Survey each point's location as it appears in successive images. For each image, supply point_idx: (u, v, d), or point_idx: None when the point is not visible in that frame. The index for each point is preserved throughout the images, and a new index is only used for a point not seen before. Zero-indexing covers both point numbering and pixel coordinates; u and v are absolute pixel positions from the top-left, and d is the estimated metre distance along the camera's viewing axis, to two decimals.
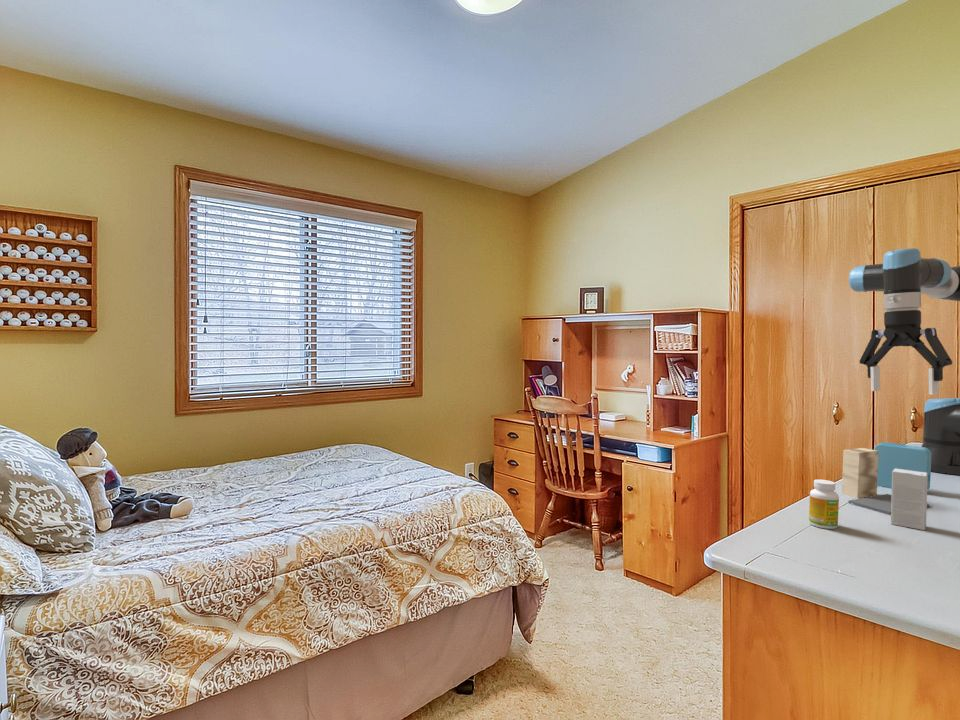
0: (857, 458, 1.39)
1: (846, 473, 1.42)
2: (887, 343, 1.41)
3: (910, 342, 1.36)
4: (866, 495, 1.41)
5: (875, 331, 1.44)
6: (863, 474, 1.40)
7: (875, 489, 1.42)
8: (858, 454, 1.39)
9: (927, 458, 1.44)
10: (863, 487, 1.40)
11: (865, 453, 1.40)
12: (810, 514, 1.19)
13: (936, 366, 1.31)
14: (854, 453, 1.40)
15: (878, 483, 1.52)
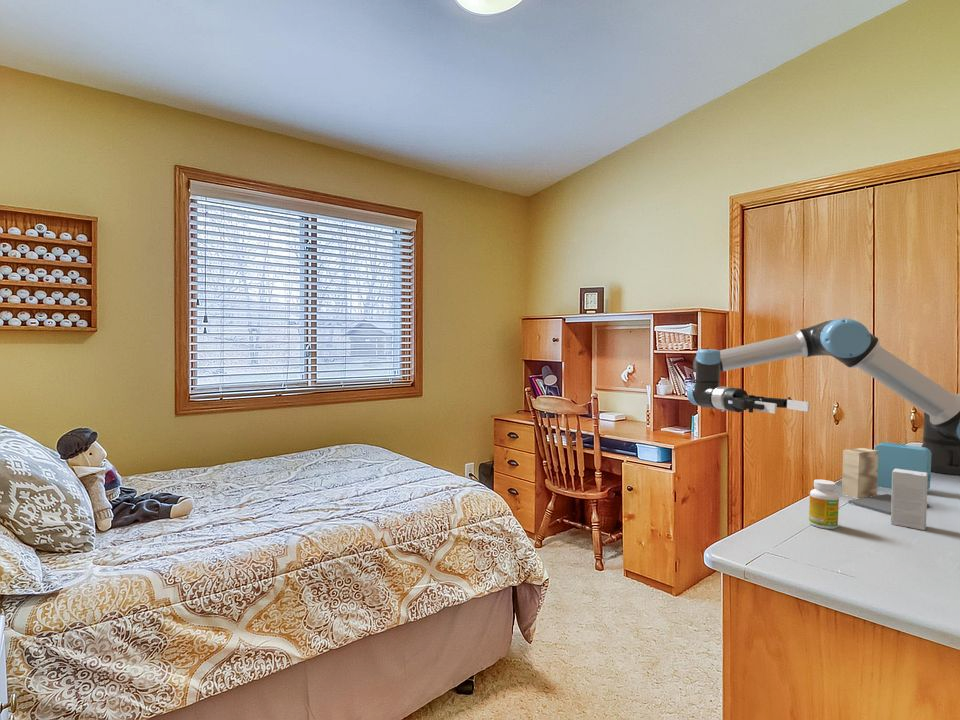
0: (857, 458, 1.39)
1: (846, 473, 1.42)
2: None
3: None
4: (866, 495, 1.41)
5: None
6: (863, 474, 1.40)
7: (875, 489, 1.42)
8: (858, 454, 1.39)
9: (927, 458, 1.44)
10: (863, 487, 1.40)
11: (865, 453, 1.40)
12: (810, 514, 1.19)
13: (750, 411, 1.56)
14: (854, 453, 1.40)
15: (878, 483, 1.52)
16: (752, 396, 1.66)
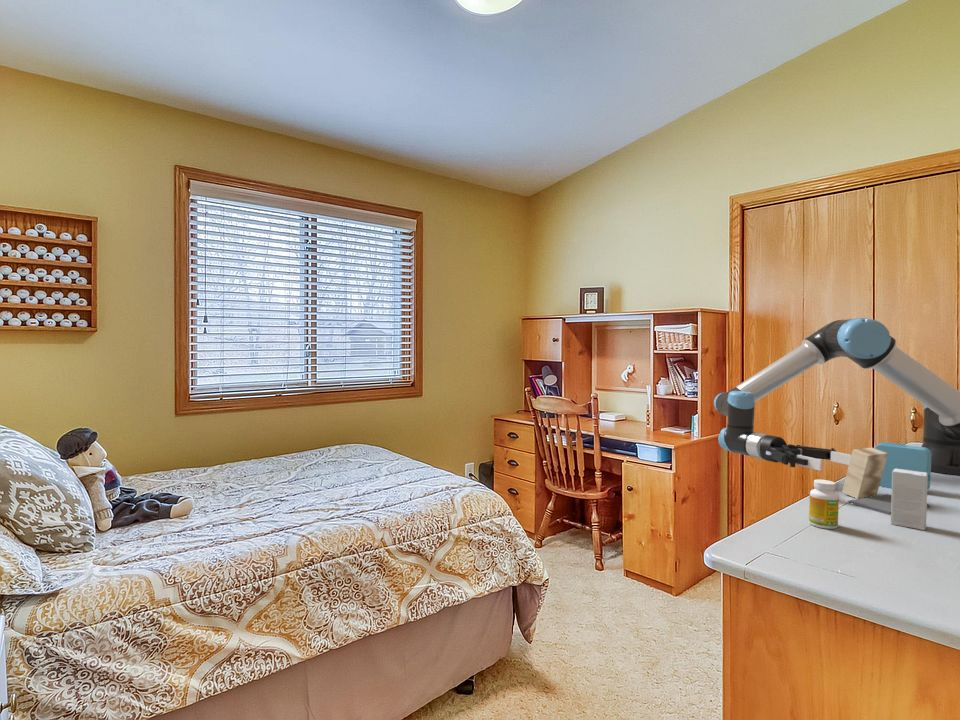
0: (865, 460, 1.37)
1: (851, 472, 1.41)
2: None
3: None
4: (866, 495, 1.41)
5: None
6: (868, 476, 1.39)
7: (876, 489, 1.42)
8: (867, 456, 1.37)
9: (927, 458, 1.44)
10: (865, 488, 1.39)
11: (874, 456, 1.38)
12: (810, 514, 1.19)
13: (792, 465, 1.44)
14: (863, 455, 1.38)
15: None
16: (791, 446, 1.54)
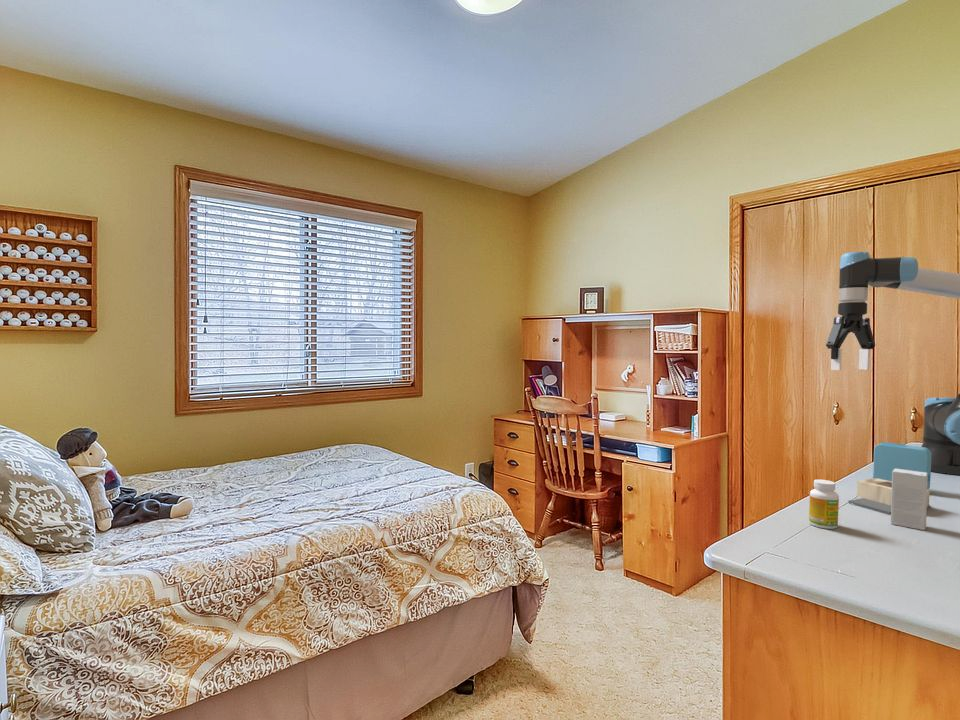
0: None
1: (882, 491, 1.34)
2: None
3: None
4: None
5: None
6: None
7: None
8: None
9: (927, 458, 1.44)
10: None
11: None
12: (810, 514, 1.19)
13: (828, 347, 1.68)
14: None
15: None
16: (859, 324, 1.68)
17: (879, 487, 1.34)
